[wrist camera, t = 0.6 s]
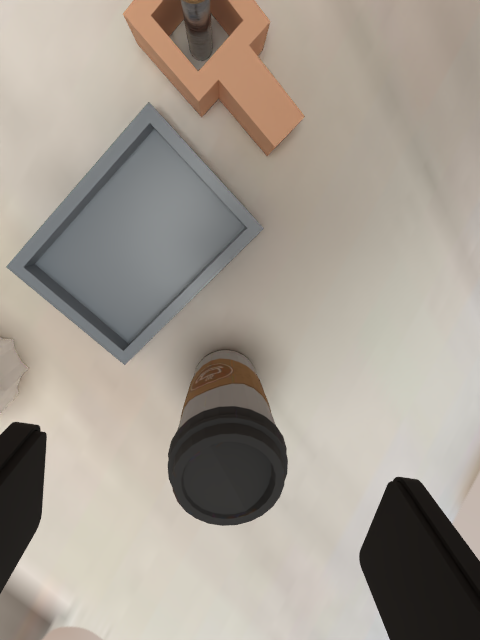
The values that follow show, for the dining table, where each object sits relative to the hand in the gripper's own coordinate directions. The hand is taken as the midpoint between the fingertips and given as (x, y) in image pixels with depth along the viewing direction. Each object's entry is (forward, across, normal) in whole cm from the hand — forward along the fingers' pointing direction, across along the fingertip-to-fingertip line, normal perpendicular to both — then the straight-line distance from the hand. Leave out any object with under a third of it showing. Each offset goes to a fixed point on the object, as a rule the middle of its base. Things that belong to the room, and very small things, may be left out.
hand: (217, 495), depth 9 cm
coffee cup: (+26, -2, +9) cm, 28 cm away
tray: (+26, +8, -3) cm, 27 cm away
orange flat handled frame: (+26, +3, -17) cm, 31 cm away
